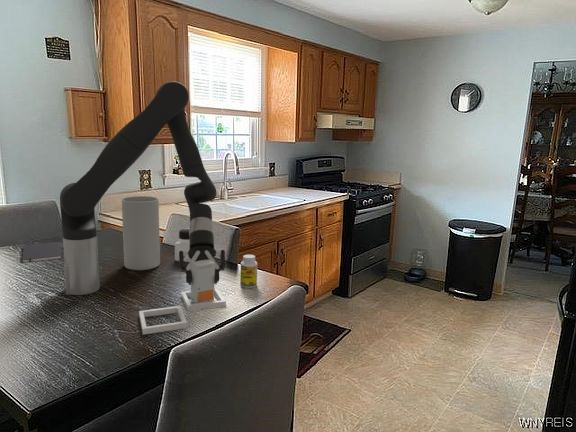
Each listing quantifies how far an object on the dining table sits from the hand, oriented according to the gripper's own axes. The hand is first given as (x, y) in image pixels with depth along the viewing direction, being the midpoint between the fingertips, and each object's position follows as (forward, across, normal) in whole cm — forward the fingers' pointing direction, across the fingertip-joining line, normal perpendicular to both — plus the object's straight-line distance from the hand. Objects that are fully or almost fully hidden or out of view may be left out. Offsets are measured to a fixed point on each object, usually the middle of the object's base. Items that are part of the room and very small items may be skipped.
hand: (203, 283), depth 122 cm
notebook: (-36, -60, +46) cm, 84 cm away
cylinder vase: (-22, -20, +31) cm, 43 cm away
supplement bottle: (-4, +16, +13) cm, 21 cm away
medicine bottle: (-26, -4, +35) cm, 44 cm away
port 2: (+4, 0, +5) cm, 6 cm away
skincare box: (+3, 0, +6) cm, 6 cm away
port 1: (+12, -11, -3) cm, 17 cm away
